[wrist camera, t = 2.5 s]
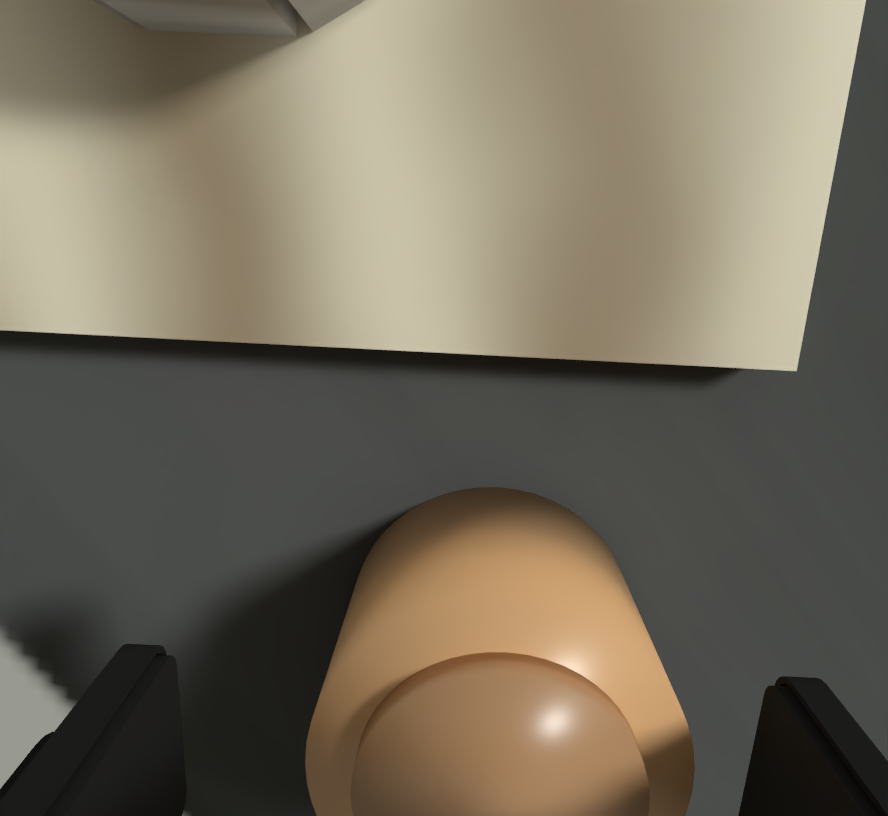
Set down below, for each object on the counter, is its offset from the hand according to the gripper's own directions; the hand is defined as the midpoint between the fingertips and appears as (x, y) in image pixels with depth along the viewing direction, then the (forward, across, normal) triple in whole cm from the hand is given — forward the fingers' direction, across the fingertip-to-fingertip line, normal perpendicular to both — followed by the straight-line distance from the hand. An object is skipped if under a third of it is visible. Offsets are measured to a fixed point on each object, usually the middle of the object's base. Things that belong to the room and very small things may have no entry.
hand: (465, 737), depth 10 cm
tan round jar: (+4, -1, 0) cm, 4 cm away
